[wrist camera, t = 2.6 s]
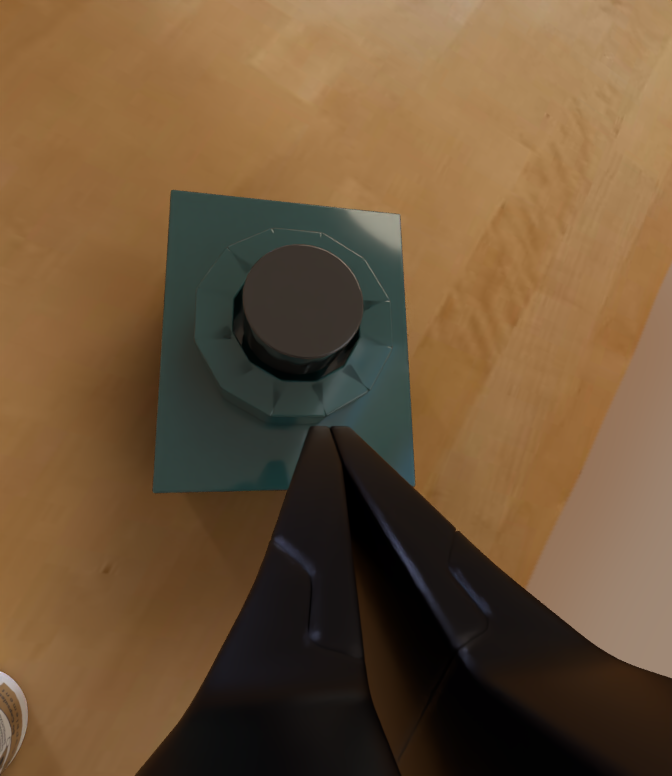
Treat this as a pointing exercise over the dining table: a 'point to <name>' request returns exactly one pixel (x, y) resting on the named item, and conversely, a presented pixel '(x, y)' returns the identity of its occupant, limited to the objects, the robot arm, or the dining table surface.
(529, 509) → the dining table surface
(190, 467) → the teal push button box
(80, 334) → the dining table surface
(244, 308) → the dark brown button
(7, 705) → the pill bottle
